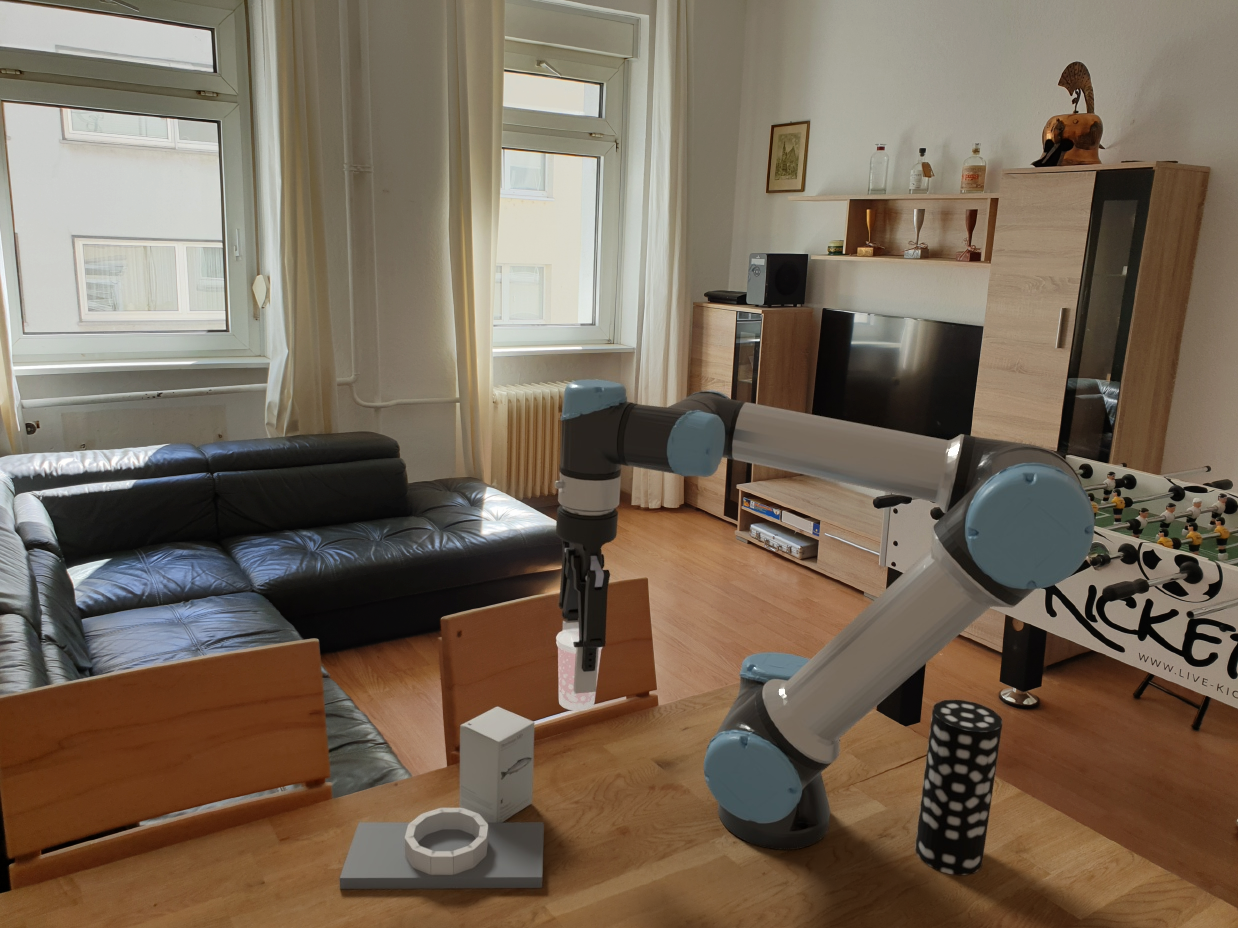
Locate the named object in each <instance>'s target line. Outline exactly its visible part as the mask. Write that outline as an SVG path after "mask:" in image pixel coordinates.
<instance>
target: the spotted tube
mask: <svg viewBox="0 0 1238 928" xmlns="http://www.w3.org/2000/svg"><path fill="white" fill-rule="evenodd" d="M1003 723H1004V722H1003V719H1002V717H1001V715H999V714H998V713H997V712H996V711H995V710H993V709H992V708H989V707H987V706H985V705H983V704H980V703H977V702H973V701H970V700H963V699H946V700H941V701H938V702H936V703H935V704H934V705H933V707H932V712H931V719H930V729H929V735H928V743H927V751H926V752H927V753H926V757H925V759H926V760H925V768H924V773H923V774H924V775H923V784H922V790H921V791H922V793H921V799H920V805H919V806H920V807H919V815H918V823H917V832H916V839H915V847H914V849H915V852H916V854H917V856H918V858H919V859H920V860H921V861H922V862H924V863H925V864H926V865H927V866H929V867H930V868H932V869H934V870H937V871H939V872H941V873H944V874H948V875H955V876H967V875H973V874H975V873H976V872H979V870H981V868H982V867H983V861H984V854H985V846H986V838H987V833H988V825H989V820H990V819H989V818H990V811H991V805H992V798H993V791H994V790H993V789H994V785H995V777H996V771H997V765H998V764H997V763H998V755H999V750H1000V744H1001V743H1000V742H1001V735H1002V729H1003V728H1002V727H1003Z"/></svg>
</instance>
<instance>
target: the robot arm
mask: <svg viewBox="0 0 1238 928" xmlns="http://www.w3.org/2000/svg"><path fill="white" fill-rule="evenodd" d="M562 403H563V404H562V410H561V416H560V421H561V425H560V452H559V453H560V456H559V468H558V469H559V480H555V481H554V488H555V489H557V490H558V493H557V494H558V496H557V501H558V503H559V504H560V505H559V506H558V507H557V509H556V523H555V533H556V535H557V537H558V538H559V539H561V544H562V546H561V547H562V548H561V549H562V559H561V571H560V583H559V584H560V586H559V596H558V597H559V600H558V607H559V609H560V610H562V611H561V617H562V619H563V620H562V630H561V631H563V630H567V629H572V628H579V642H573V644H574V647H576V656H575V673H574V690H573V691H574V693H575V694H577V693H588V692H596V693H597V686H596V681H597V682H598V678H597V666H598V650H599V647H602V648H605V647H606V644H607V643H606V637H607V633H606V632H607V613H608V612H607V610H608V608H607V607H608V591H609V589H608V588H609V583H610V577H611V572H610V569H604V568H605V555H604V554H603V553H602V551H603V550H602V547H603V546H604V545H606V544H607V543H608V544H609V543H611V542H612V541H614V540H615V539H616V537H617V535H618V534H617V533H618V519H619V512H618V510H617V507H618V506H619V505H620V497H621V496H620V495H621V482H622V481H621V480H622V466H623V467H624V466H625V467H632V468H638V469H645V470H651V471H656V472H662V473H669V474H675V475H677V476H681V477H703V478H708V477H711V476H713V475H714V474H715V473H716V472H717V471H718V469H719V466H720V464H721V462H722V459H723V458H724V459H729V460H734V461H739V462H743V463H744V462H745V463H748V464H754V465H758V466H764V467H768V468H772V469H777V470H781V471H786V472H791V473H796V474H801V475H805V476H810V477H815V478H818V479H824V480H829V481H834V482H837V483H841V484H848V485H853V486H857V487H861V488H866V489H871V490H876V491H880V492H885V493H889V494H893V495H900V496H903V497H907V498H913V499H918V500H922V501H926V502H932V503H935V504H937V506H938V507H939V508H940V510H941V511H942V513H944V515H943V516H941V518H940V519H939V520H938V521H936V522H935V523H934V525H933V526H932V527H931V546H930V548H929V549H928V550H927V551H925V553H924V554H922V555H921V556H920V557H919V558H918V559H917V560H916V561H915V562H914V563H913V564H911V566H910V567H908V569H906V570H905V571H904V572H903V573H902V574H901V575H900V576H898V578H897V579H895V580H894V581H893V582H892V583H891V584H890V585H889V586H888V587H887V588H886V589H885V590H884V591H883V592H882V593H880V594H879V595H878V596H877V597H876V598H875V599H873V601H872V602H871V603H870V604H869V605H867V606H866V607H865V609H863V610H862V611H861V612H860V613H859V614H858V615H857V616H856V617H855V618H854V619H853V620H851V621H850V623H848V625H846V626H845V627H843V629H842V630H841V631H840V632H839V633H838V634H837V635H835V636H834V637H833V638H832V639H831V640H830V641H829V642H828V643H827V644H826V645H824V647H822V649H820V650H819V651H818V652H817V653H816V654H815V655H814V656H813V657H812V658H808V657H804V656H799V655H798V654H797V655H796V654H791V653H784V652H771V651H770V652H758V653H754V654H750V655H748V656H746V657H745V658H744V659H743V661H742V663H741V668H740V671H739V675H738V676H740V679H739V680H740V681H739V682H740V683H739V688H738V689H739V690H738V695H737V697H736V699H734V700H735V701H734V702H733V704H732V706H731V708H729V711H728V713H727V714H726V716H725V718H724V719H723V721H722V723H721V725H720V726H719V728H718V730H717V731H716V733H715V735H714V736H713V737H712V738H711V740H710V741H709V743H708V745H707V747H706V753H705V755H704V756H705V757H704V760H703V775H704V780H705V783H706V786H707V787H708V790H709V791H710V793H711V795H712V796H713V798H714V800H716V801H717V804H718V806H717V812H718V813H717V814H718V817H719V819H720V821H721V823H722V824H723V825H724V827H725V828H726V829H727V830H728V831H729V832H731V833H732V834H733V835H734V836H737V838H740V839H741V840H743V841H745V842H747V843H750V844H752V845H755V846H758V847H763V848H767V849H773V850H796V849H802V848H806V847H809V846H811V845H813V844H816V843H817V842H819V841H821V840H822V839H823V838H824V837H825V836H826V834H827V833H828V831H829V825H830V815H831V810H830V809H831V808H830V803H829V800H828V795H827V791H826V787H825V782H824V779H823V774H822V772H823V771H824V770H826V769H827V768H828V767H829V766H831V765H832V764H833V763H834V762H835V761H836V760H837V759H838V758H839V756H840V751H841V749H840V748H841V747H840V738H841V737H843V735H845V734H846V733H847V732H848V731H849V730H850V729H852V728H853V727H854V726H856V725H857V723H859V722H860V721H861V720H862V719H863V718H864V717H866V716H867V715H868V714H869V713H870V712H871V711H873V710H874V709H875V708H876V707H877V706H878V705H879V704H881V703H882V702H883V701H884V700H885V699H887V697H889V696H890V695H891V694H892V693H893V692H894V691H896V690H897V689H898V688H899V687H901V685H902V684H904V683H905V682H906V681H907V680H908V679H910V677H911V676H913V675H914V674H916V673H917V672H918V671H919V670H920V669H922V667H924V666H925V665H926V664H927V663H928V662H929V661H930V660H931V659H933V658H934V657H935V656H936V655H937V654H938V653H939V652H940V651H943V649H945V648H946V646H948V645H949V644H950V643H951V642H952V641H954V640H955V639H956V638H957V637H958V636H959V635H960V634H961V633H962V632H964V631H965V630H966V629H968V627H969V626H970V625H972V624H973V623H974V622H975V621H976V620H977V619H978V618H981V616H982V615H983V614H984V613H986V612H987V611H988V610H989V609H990V608H993V607H994V608H995V607H997V608H1015V607H1016V606H1017V605H1018V604H1019V603H1021V602H1022V601H1023V600H1024V599H1025V598H1026V597H1028V596H1029V595H1030V594H1032V592H1034V591H1035V590H1036V589H1037V590H1039V589H1044V588H1048V587H1052V586H1055V585H1057V584H1059V583H1062V582H1063V581H1065V580H1067V579H1068V578H1069V577H1071V576H1072V575H1073V574H1074V573H1075V572H1077V570H1079V568H1080V567H1081V566H1082V565H1083V564H1084V562H1085V560H1086V558H1087V556H1088V555H1089V553H1090V550H1091V548H1092V545H1093V541H1094V534H1095V525H1096V524H1095V512H1094V508H1093V504H1092V501H1091V499H1090V498H1089V496H1088V492H1086V489H1085V488H1084V487H1083V484H1082V482H1081V480H1080V479H1081V478H1080V477H1079V475H1078V473H1077V472H1076V470H1075V468H1073V466H1072V465H1071V464H1070V463H1069V462H1068V461H1067V460H1066V459H1065V458H1063V457H1062V456H1061V455H1060V454H1058V453H1056V452H1054V451H1053V450H1051V449H1048V448H1045V447H1042V446H1039V445H1035V444H1030V443H1023V442H1016V441H1007V440H1002V439H993V438H987V437H980V436H974V435H973V436H972V435H968V434H962V433H960V434H959V435H958V436H956V437H954V438H952V439H949V440H947V439H944V438H937V437H931V436H926V435H922V434H916V433H911V432H908V431H907V432H906V431H901V430H897V429H892V428H891V429H890V428H884V427H879V426H875V425H874V426H873V425H869V424H864V423H858V422H853V421H849V420H848V421H847V420H842V419H837V418H831V417H826V416H823V415H821V416H820V415H815V414H809V413H805V412H799V411H794V410H790V409H783V408H778V407H773V406H769V405H768V406H767V405H764V404H763V405H762V404H757V403H753V402H746V401H745V402H744V401H740V400H736V399H733V398H732V399H731V398H730V397H729V396H727V395H726V394H724V393H722V392H720V391H716V390H701V391H698V392H694V393H692V394H690V395H688V396H687V397H685V398H684V399H682V400H679V401H678V402H676V403H675V402H674V403H673V404H671V405H669V406H656V405H650V404H649V405H647V404H639V403H635V402H630V401H628V397H627V389H626V387H625V385H623V384H622V383H620V382H615V381H611V380H605V379H604V380H603V379H577V380H574V381H571V382H569V383H568V384H567V385H566V387H565V389H564V393H563V401H562ZM564 619H565V620H564Z"/></svg>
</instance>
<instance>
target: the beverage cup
mask: <svg viewBox="0 0 1238 928" xmlns="http://www.w3.org/2000/svg"><path fill="white" fill-rule="evenodd" d="M562 630H563V629H562ZM562 630H561V631H559V632H558V633H557V635H556V637H555V640H556V642H555V643H556V646H557V661H558V663H557V666H558V668H557V669H558V670H557V672H558V675H557V676H558V703H559V705H560V706H561V707H562V708H564V709H566V710H569V711H575V712H578V711H586V710H590V709H591V708H592V707H594V705H595V701H596V694H597V691H596V692H588V693H577V694H575V693H574V691H573V690H574V673H575V656H576V647H574V644H573V642H579V628H572V629H567V630H563V631H562ZM602 649H603V647H599V650H598V666H597V679H598V676H599V670H600V660H601V653H602ZM597 685H598V680H597V681H596V687H597Z"/></svg>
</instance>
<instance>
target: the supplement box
mask: <svg viewBox="0 0 1238 928" xmlns="http://www.w3.org/2000/svg"><path fill="white" fill-rule="evenodd" d="M534 744H535V721H533V720H531V719H529V718H526V717H523V716H521V715H518V714H516V713H514V712H512V711H509V710H506V709H504V708H502V707H500V706H495V707H493V708H491V709H489V710H488V711H485V712H483V713H482V714H479V715H477V716H476V717H473V718H471V719H470V720H468V721H465V722H464V723H461V724H460V725H459V808H464V809H467V810H470V811H473V812H475V813H478V814H480V815H481V817H482V818H483V819H484V820H485V821H486V822H505V821H506V820H508V819H510V818H511V817H512V816H514V815H516V814H517V813H519V812H520V811H522V810H523V809H525V808H527V807H529V806H530V805H532V804H533V789H534V788H533V787H534V785H533V784H534V753H535V752H534V749H535V746H534Z"/></svg>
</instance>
